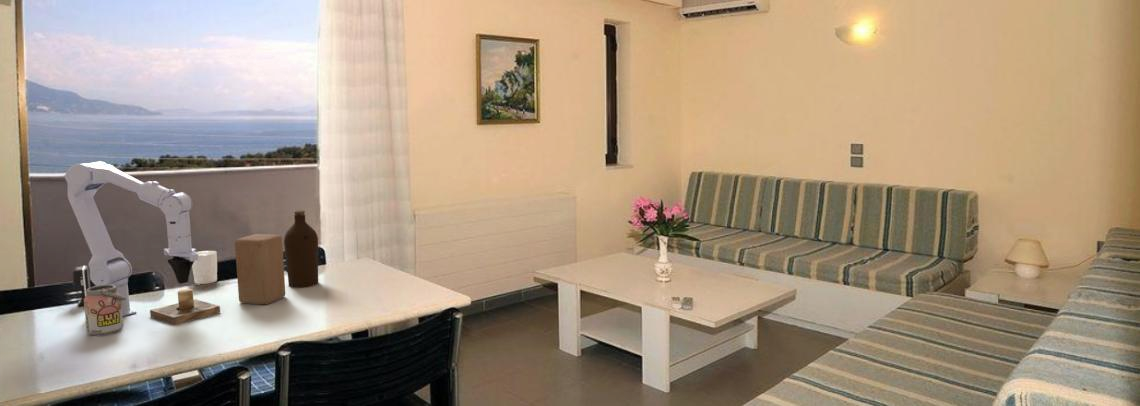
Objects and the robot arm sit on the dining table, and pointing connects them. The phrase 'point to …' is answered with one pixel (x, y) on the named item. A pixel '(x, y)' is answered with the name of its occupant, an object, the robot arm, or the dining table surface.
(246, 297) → the wooden block
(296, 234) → the olive oil
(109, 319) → the beverage can
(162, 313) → the board
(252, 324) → the dining table surface
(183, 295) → the peg
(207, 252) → the white cup
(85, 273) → the battery charger
